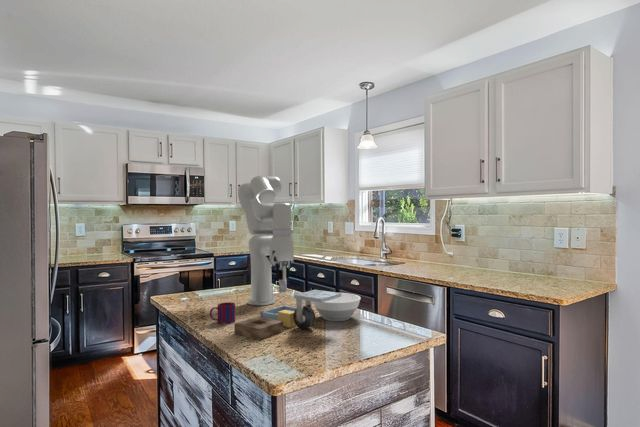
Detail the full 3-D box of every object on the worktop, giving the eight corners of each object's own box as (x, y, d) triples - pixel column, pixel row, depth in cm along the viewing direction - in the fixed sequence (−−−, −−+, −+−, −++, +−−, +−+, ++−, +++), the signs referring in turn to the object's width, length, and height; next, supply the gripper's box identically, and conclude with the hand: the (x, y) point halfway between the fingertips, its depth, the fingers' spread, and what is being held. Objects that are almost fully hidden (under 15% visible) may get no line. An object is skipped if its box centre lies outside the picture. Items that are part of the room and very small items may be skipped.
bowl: (370, 317, 163) (370, 296, 163) (339, 327, 149) (339, 305, 149) (334, 309, 176) (333, 290, 176) (301, 318, 162) (301, 297, 162)
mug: (237, 322, 157) (237, 304, 157) (212, 326, 151) (211, 308, 151) (232, 318, 162) (231, 301, 162) (206, 322, 157) (206, 304, 157)
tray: (283, 311, 174) (283, 305, 174) (303, 314, 167) (303, 308, 167) (260, 318, 163) (260, 311, 163) (280, 322, 156) (280, 315, 156)
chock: (284, 322, 156) (284, 309, 156) (296, 325, 153) (296, 311, 153) (277, 325, 153) (277, 311, 153) (289, 327, 149) (289, 314, 149)
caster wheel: (307, 322, 156) (307, 288, 156) (341, 329, 146) (341, 293, 146) (287, 329, 146) (286, 293, 146) (321, 337, 137) (321, 299, 137)
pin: (282, 290, 167) (282, 260, 167) (289, 291, 165) (288, 261, 165) (276, 291, 164) (276, 261, 164) (283, 292, 162) (282, 262, 162)
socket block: (259, 325, 152) (259, 316, 152) (283, 331, 145) (283, 321, 145) (234, 333, 142) (234, 323, 142) (258, 339, 135) (258, 329, 135)
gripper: (288, 232, 174) (289, 275, 173) (261, 234, 160) (261, 280, 160) (302, 232, 169) (302, 277, 169) (274, 234, 156) (275, 282, 156)
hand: (282, 278), depth 165 cm, fingers closed on pin, 3 cm apart
